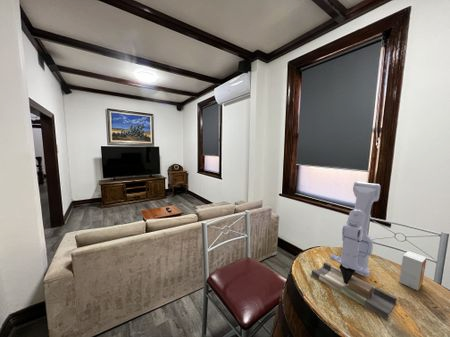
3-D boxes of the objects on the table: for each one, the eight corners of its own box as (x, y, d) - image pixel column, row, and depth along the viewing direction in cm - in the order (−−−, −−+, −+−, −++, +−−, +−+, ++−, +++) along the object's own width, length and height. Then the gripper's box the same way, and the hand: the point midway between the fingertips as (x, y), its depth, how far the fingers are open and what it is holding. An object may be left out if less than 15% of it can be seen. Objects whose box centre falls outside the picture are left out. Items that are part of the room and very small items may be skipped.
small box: (418, 291, 79) (422, 262, 77) (398, 282, 84) (402, 255, 83) (422, 284, 83) (427, 257, 82) (403, 276, 88) (407, 250, 87)
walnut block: (352, 285, 79) (353, 276, 79) (372, 295, 74) (373, 286, 73) (347, 289, 76) (348, 280, 76) (367, 301, 71) (369, 291, 70)
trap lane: (324, 266, 93) (325, 261, 92) (396, 303, 71) (396, 297, 71) (311, 275, 85) (311, 270, 85) (386, 320, 63) (387, 313, 63)
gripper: (327, 247, 81) (324, 276, 82) (367, 264, 70) (363, 298, 71) (334, 243, 85) (331, 271, 87) (373, 259, 74) (369, 290, 75)
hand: (346, 282), depth 79 cm, fingers closed
